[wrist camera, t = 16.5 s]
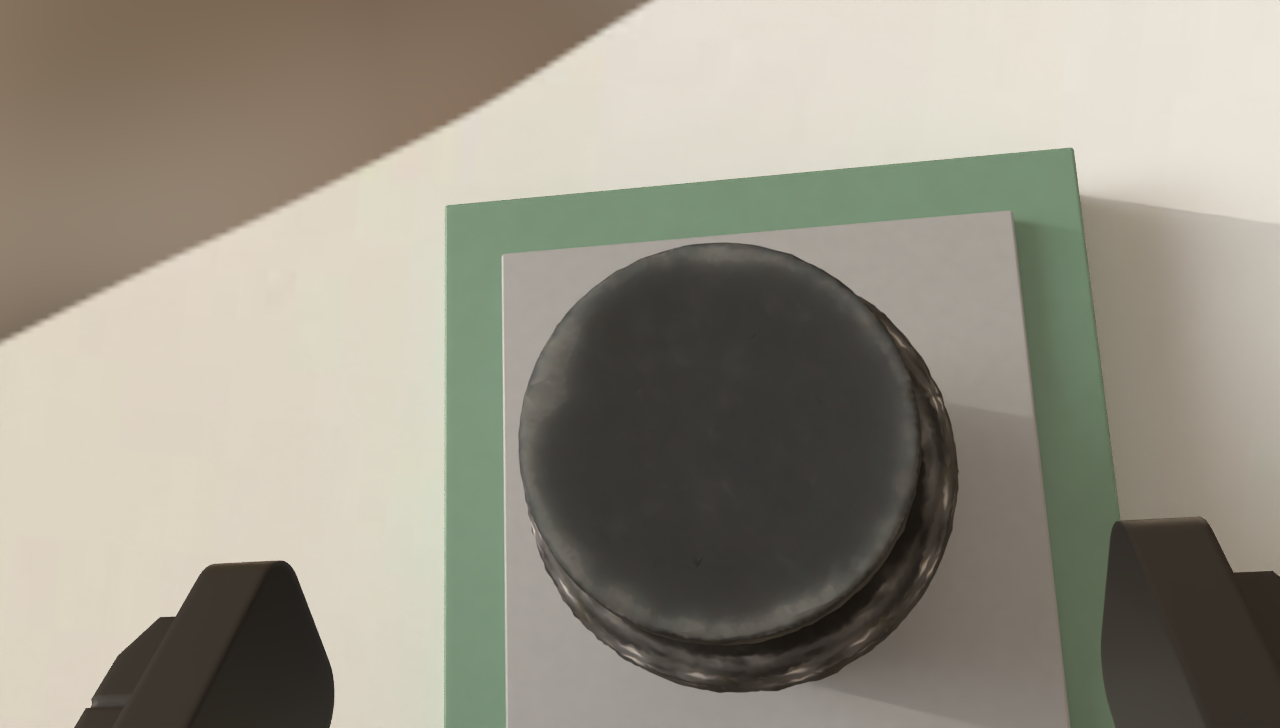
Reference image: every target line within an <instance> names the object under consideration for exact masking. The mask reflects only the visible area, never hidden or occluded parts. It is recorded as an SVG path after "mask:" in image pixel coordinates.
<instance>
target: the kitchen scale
mask: <svg viewBox="0 0 1280 728" xmlns="http://www.w3.org/2000/svg"><path fill="white" fill-rule="evenodd" d="M725 242H728V243H741V244H751V245H757V246H762V247H766V248H769V249H773V250H776V251H781V252H785V253H789V254H792V255H794V256H796V257H798V258H800V259H802V260H804V261H805V262H808V263H810V264H813V265H815V266H816V267H818V268H820V269H823V270H824V271H826V272H827V273H829V274H830V275H832V276H833V277H835V278H837V279H838V280H840V281H841V282H842V283H843V284H845V285H846V286H847V287H848V288H850V289H851V290H852V291H853V292H854V293H855V294H856V295H858V296H860V297H862V298H863V299H865V300H867V301H868V302H870V303H871V304H873V305H875V306H876V308H878V309H879V310H880V311H881V312H883V313H885V314H886V316H887V317H888V318H889V319H890V320H891V321H892V323H893V324H894V325H895V326H896V327H897V328H898V329H899V330H900V331H901V332H902V333H903V334H904V335H905V336H906V337H907V338H908V340H909V341H910V343H911V344H912V346H913V347H914V348H915V349H916V351H917V352H918V353H919V354H920V355H921V356H922V358H923V360H924V361H925V363H926V365H927V367H928V369H929V371H930V374H931V377H932V378H933V380H934V381H935V382H936V384H937V386H938V388H939V390H940V391H941V393H942V396H943V400H944V405H945V408H946V409H947V412H948V415H949V418H950V421H951V424H952V430H953V434H954V442H955V445H956V454H957V462H958V470H959V473H958V484H959V489H958V494H957V504H956V508H955V513H954V519H953V530H952V533H951V535H950V537H949V540H948V543H947V546H946V549H945V552H944V555H943V558H942V560H941V562H940V564H939V567H938V569H937V572H936V574H935V576H934V577H933V579H932V581H931V582H930V584H929V587H928V588H927V590H926V592H925V593H924V595H923V596H922V598H921V599H920V601H919V602H918V603H917V604H916V606H915V607H914V608H913V609H912V610H911V612H910V613H909V614H908V616H907V617H906V618H905V619H904V620H903V621H902V622H901V623H900V625H899V626H898V627H897V629H896V630H894V631H893V632H892V633H891V634H890V635H889V636H888V637H887V638H886V639H885V640H884V641H882V642H881V643H880V644H878V645H877V646H875V648H874V649H873V650H872V651H870V652H869V653H867V654H866V655H864V656H862V657H860V658H858V659H857V660H855V661H853V662H851V663H850V664H848V665H846V666H845V667H843V668H842V669H841V670H840V671H839V672H838V673H836V674H833V675H831V676H829V677H826V678H824V679H822V680H819V681H812V682H806V683H802V684H798V685H794V686H792V687H788V688H786V689H781V690H780V691H758V692H748V693H746V692H744V693H735V692H724V693H717V692H712V691H708V690H701V689H697V688H692V687H687V686H682V685H679V684H676V683H674V682H671V681H669V680H666V679H664V678H662V677H659V676H657V675H655V674H652V673H650V672H648V671H646V670H644V669H642V668H641V667H639V666H635V665H634V664H632V663H631V662H628V661H626V660H624V659H623V658H621V657H620V656H618V654H617V653H616V652H615V651H614V650H613V649H611V648H610V647H609V646H607V645H604V644H603V643H602V641H600V640H597V638H596V636H595V635H594V634H593V633H592V632H591V631H589V630H588V629H586V627H585V626H584V625H583V624H582V623H581V621H580V620H579V619H577V618H576V617H575V616H574V615H573V613H572V611H571V609H570V608H569V607H568V605H567V604H566V603H565V602H564V601H563V600H562V597H561V595H560V594H559V592H558V589H557V587H556V586H555V585H554V582H553V580H552V578H551V577H550V576H549V575H548V573H547V572H546V570H545V566H544V562H543V561H542V559H541V557H540V554H539V551H538V548H537V544H536V539H535V537H534V535H533V533H532V531H531V530H532V524H531V521H530V518H529V515H528V507H527V503H526V501H525V494H524V493H525V491H524V488H523V481H522V478H521V474H520V464H519V452H518V451H519V439H518V433H519V426H520V416H521V411H522V406H523V399H524V394H525V392H526V389H527V386H528V382H529V379H530V377H531V374H532V371H533V369H534V366H535V363H536V361H537V359H538V357H539V355H540V353H541V351H542V349H543V348H544V346H545V344H546V343H547V341H548V340H549V338H550V337H551V335H552V333H553V331H554V330H555V328H556V326H557V324H558V323H559V322H561V320H562V319H563V317H564V316H565V314H566V313H567V312H568V311H569V310H570V309H571V308H572V307H573V306H574V305H575V304H576V302H577V301H578V300H580V299H581V298H582V297H583V296H584V295H586V294H587V293H588V292H589V291H590V290H591V289H592V288H593V287H595V286H596V285H597V284H599V283H600V282H602V281H603V280H604V279H606V278H607V277H608V276H610V275H611V274H613V273H614V272H615V271H617V270H619V269H622V268H625V267H627V266H628V265H630V264H632V263H634V262H635V261H637V260H639V259H641V258H644V257H647V256H651V255H654V254H657V253H660V252H663V251H666V250H670V249H674V248H677V247H681V246H685V245H692V244H703V243H725ZM1116 521H1120V514H1119V506H1118V498H1117V490H1116V482H1115V474H1114V466H1113V458H1112V450H1111V442H1110V434H1109V426H1108V418H1107V410H1106V403H1105V395H1104V387H1103V379H1102V371H1101V363H1100V355H1099V347H1098V339H1097V331H1096V323H1095V315H1094V307H1093V299H1092V291H1091V283H1090V275H1089V267H1088V259H1087V251H1086V243H1085V235H1084V227H1083V219H1082V211H1081V203H1080V195H1079V188H1078V180H1077V172H1076V164H1075V156H1074V150H1073V148H1063V149H1052V150H1041V151H1030V152H1020V153H1009V154H998V155H987V156H976V157H966V158H955V159H944V160H933V161H922V162H912V163H901V164H890V165H879V166H869V167H858V168H847V169H836V170H825V171H815V172H804V173H793V174H782V175H771V176H761V177H750V178H739V179H728V180H717V181H707V182H696V183H685V184H674V185H663V186H653V187H642V188H631V189H620V190H609V191H599V192H588V193H577V194H566V195H556V196H545V197H534V198H523V199H512V200H502V201H491V202H480V203H469V204H458V205H448V206H446V207H445V620H444V728H1115V724H1114V721H1113V718H1112V715H1111V712H1110V709H1109V705H1108V701H1107V697H1106V692H1105V687H1104V681H1103V673H1102V664H1101V632H1102V621H1103V610H1104V600H1105V589H1106V578H1107V567H1108V556H1109V545H1110V536H1111V531H1112V527H1113V525H1114V523H1115V522H1116Z"/></svg>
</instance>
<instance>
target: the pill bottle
mask: <svg viewBox="0 0 1280 728" xmlns="http://www.w3.org/2000/svg"><path fill="white" fill-rule="evenodd" d="M518 439H519V451H518V452H519V464H520V474H521V478H522V481H523V488H524V491H525V493H524V494H525V501H526V503H527V507H528V515H529V518H530V521H531V524H532V530H531V531H532V533H533V535H534V537H535V539H536V544H537V548H538V551H539V554H540V557H541V559H542V561H543V562H544V566H545V570H546V572H547V573H548V575H549V576H550V577H551V578H552V580H553V582H554V585H555V586H556V587H557V589H558V592H559V594H560V595H561V597H562V600H563V601H564V602H565V603H566V604H567V605H568V607H569V608H570V609H571V611H572V613H573V615H574V616H575V617H576V618H577V619H579V620H580V621H581V623H582V624H583V625H584V626H585V627H586V629H588V630H589V631H591V632H592V633H593V634H594V635H595V636H596V638H597V640H600V641H602V643H603V644H604V645H607V646H609V647H610V648H611V649H613V650H614V651H615V652H616V653H617V654H618V656H620V657H621V658H623V659H624V660H626V661H628V662H631V663H632V664H634V665H635V666H639V667H641V668H642V669H644V670H646V671H648V672H650V673H652V674H655V675H657V676H659V677H662V678H664V679H666V680H669V681H671V682H674V683H676V684H679V685H682V686H687V687H692V688H697V689H701V690H708V691H712V692H717V693H724V692H735V693H744V692H746V693H748V692H758V691H780V690H781V689H786V688H788V687H792V686H794V685H798V684H802V683H806V682H812V681H819V680H822V679H824V678H826V677H829V676H831V675H833V674H836V673H838V672H839V671H840V670H841V669H842V668H843V667H845V666H846V665H848V664H850V663H851V662H853V661H855V660H857V659H858V658H860V657H862V656H864V655H866V654H867V653H869V652H870V651H872V650H873V649H874V648H875V646H877V645H878V644H880V643H881V642H882V641H884V640H885V639H886V638H887V637H888V636H889V635H890V634H891V633H892V632H893V631H894V630H896V629H897V627H898V626H899V625H900V623H901V622H902V621H903V620H904V619H905V618H906V617H907V616H908V614H909V613H910V612H911V610H912V609H913V608H914V607H915V606H916V604H917V603H918V602H919V601H920V599H921V598H922V596H923V595H924V593H925V592H926V590H927V588H928V587H929V584H930V582H931V581H932V579H933V577H934V576H935V574H936V572H937V569H938V567H939V564H940V562H941V560H942V558H943V555H944V552H945V549H946V546H947V543H948V540H949V537H950V535H951V533H952V530H953V519H954V513H955V508H956V504H957V494H958V489H959V484H958V473H959V470H958V462H957V454H956V445H955V442H954V434H953V430H952V424H951V421H950V418H949V415H948V412H947V409H946V408H945V405H944V400H943V396H942V393H941V391H940V390H939V388H938V386H937V384H936V382H935V381H934V380H933V378H932V377H931V374H930V371H929V369H928V367H927V365H926V363H925V361H924V360H923V358H922V356H921V355H920V354H919V353H918V352H917V351H916V349H915V348H914V347H913V346H912V344H911V343H910V341H909V340H908V338H907V337H906V336H905V335H904V334H903V333H902V332H901V331H900V330H899V329H898V328H897V327H896V326H895V325H894V324H893V323H892V321H891V320H890V319H889V318H888V317H887V316H886V314H885V313H883V312H881V311H880V310H879V309H878V308H876V306H875V305H873V304H871V303H870V302H868V301H867V300H865V299H863V298H862V297H860V296H858V295H856V294H855V293H854V292H853V291H852V290H851V289H850V288H848V287H847V286H846V285H845V284H843V283H842V282H841V281H840V280H838V279H837V278H835V277H833V276H832V275H830V274H829V273H827V272H826V271H824V270H823V269H820V268H818V267H816V266H815V265H813V264H810V263H808V262H805V261H804V260H802V259H800V258H798V257H796V256H794V255H792V254H789V253H785V252H781V251H776V250H773V249H769V248H766V247H762V246H757V245H751V244H741V243H728V242H725V243H703V244H692V245H685V246H681V247H677V248H674V249H670V250H666V251H663V252H660V253H657V254H654V255H651V256H647V257H644V258H641V259H639V260H637V261H635V262H634V263H632V264H630V265H628V266H627V267H625V268H622V269H619V270H617V271H615V272H614V273H613V274H611V275H610V276H608V277H607V278H606V279H604V280H603V281H602V282H600V283H599V284H597V285H596V286H595V287H593V288H592V289H591V290H590V291H589V292H588V293H587V294H586V295H584V296H583V297H582V298H581V299H580V300H578V301H577V302H576V304H575V305H574V306H573V307H572V308H571V309H570V310H569V311H568V312H567V313H566V314H565V316H564V317H563V319H562V320H561V322H559V323H558V324H557V326H556V328H555V330H554V331H553V333H552V335H551V337H550V338H549V340H548V341H547V343H546V344H545V346H544V348H543V349H542V351H541V353H540V355H539V357H538V359H537V361H536V363H535V366H534V369H533V371H532V374H531V377H530V379H529V382H528V386H527V389H526V392H525V394H524V399H523V406H522V411H521V416H520V426H519V433H518Z"/></svg>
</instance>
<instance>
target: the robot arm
mask: <svg viewBox="0 0 1280 728" xmlns="http://www.w3.org/2000/svg"><path fill="white" fill-rule="evenodd" d="M1101 664H1102V673H1103V681H1104V687H1105V692H1106V697H1107V701H1108V705H1109V709H1110V712H1111V715H1112V718H1113V721H1114V724H1115V728H1280V577H1279V576H1278V575H1277V574H1276V573H1274V572H1273V571H1264V572H1241V573H1233V571H1232V569H1231V567H1230V565H1229V563H1228V561H1227V559H1226V557H1225V555H1224V553H1223V551H1222V549H1221V547H1220V545H1219V543H1218V541H1217V539H1216V537H1215V535H1214V533H1213V531H1212V529H1211V527H1210V525H1209V524H1208V523H1207V521H1206V520H1205V519H1203V518H1202V517H1184V518H1164V519H1144V520H1125V521H1116V522H1115V523H1114V525H1113V527H1112V531H1111V536H1110V545H1109V556H1108V567H1107V578H1106V589H1105V600H1104V610H1103V621H1102V632H1101ZM91 700H92V706H91V708H86V709H85V711H84V712H83V714H82V716H81V717H80V719H79V721H78V722H77V724H76V726H75V727H74V728H329V727H330V724H331V719H332V714H333V707H334V681H333V674H332V669H331V666H330V662H329V660H328V657H327V655H326V652H325V649H324V647H323V644H322V641H321V639H320V636H319V633H318V631H317V628H316V626H315V623H314V620H313V618H312V615H311V612H310V610H309V607H308V605H307V602H306V599H305V597H304V594H303V591H302V589H301V586H300V583H299V581H298V578H297V576H296V574H295V571H294V570H293V568H292V567H291V566H290V565H289V564H288V563H287V562H285V561H262V562H242V563H223V564H212V565H210V566H208V567H206V568H205V569H204V570H203V571H202V573H201V574H200V576H199V577H198V579H197V581H196V582H195V584H194V586H193V587H192V589H191V591H190V593H189V594H188V596H187V598H186V600H185V601H184V603H183V605H182V607H181V608H180V610H179V612H178V614H177V615H176V617H160V618H159V619H158V620H156V621H155V622H154V623H153V624H152V625H151V626H150V627H149V628H148V629H147V630H146V631H144V632H143V633H142V634H141V635H140V636H139V637H138V638H137V639H136V640H135V641H134V642H133V643H131V644H130V645H129V646H128V647H127V648H126V649H125V650H124V651H123V652H122V653H121V654H119V655H118V657H117V658H116V660H115V661H114V663H113V665H112V666H111V668H110V670H109V671H108V673H107V675H106V676H105V678H104V680H103V681H102V683H101V684H100V686H99V688H98V689H97V691H96V693H95V694H94V696H93V698H92V699H91Z"/></svg>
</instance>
